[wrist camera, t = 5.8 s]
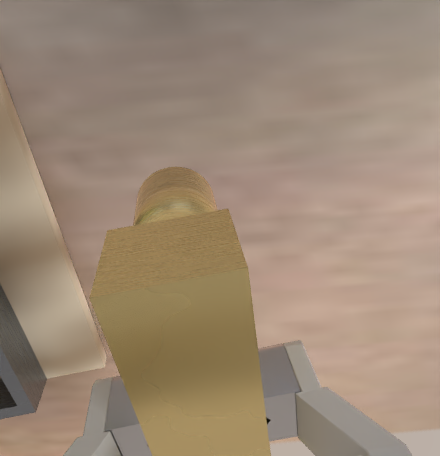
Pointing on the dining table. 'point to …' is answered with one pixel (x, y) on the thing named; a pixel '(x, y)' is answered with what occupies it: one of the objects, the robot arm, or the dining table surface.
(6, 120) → the chain board
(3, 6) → the dining table surface
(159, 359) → the tan bar
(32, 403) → the chain ends
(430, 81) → the dining table surface
